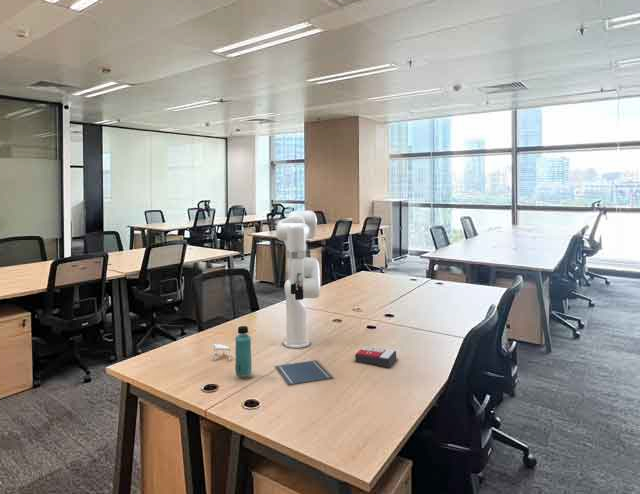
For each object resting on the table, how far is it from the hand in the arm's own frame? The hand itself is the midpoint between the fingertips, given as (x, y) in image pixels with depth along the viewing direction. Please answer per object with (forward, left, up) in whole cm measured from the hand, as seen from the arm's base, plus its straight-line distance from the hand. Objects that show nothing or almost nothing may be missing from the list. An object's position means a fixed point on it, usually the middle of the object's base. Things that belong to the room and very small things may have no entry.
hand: (296, 296), depth 175 cm
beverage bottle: (-2, -22, -31) cm, 38 cm away
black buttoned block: (+1, +36, -31) cm, 47 cm away
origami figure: (-24, -27, -31) cm, 48 cm away
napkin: (+2, +2, -31) cm, 31 cm away
